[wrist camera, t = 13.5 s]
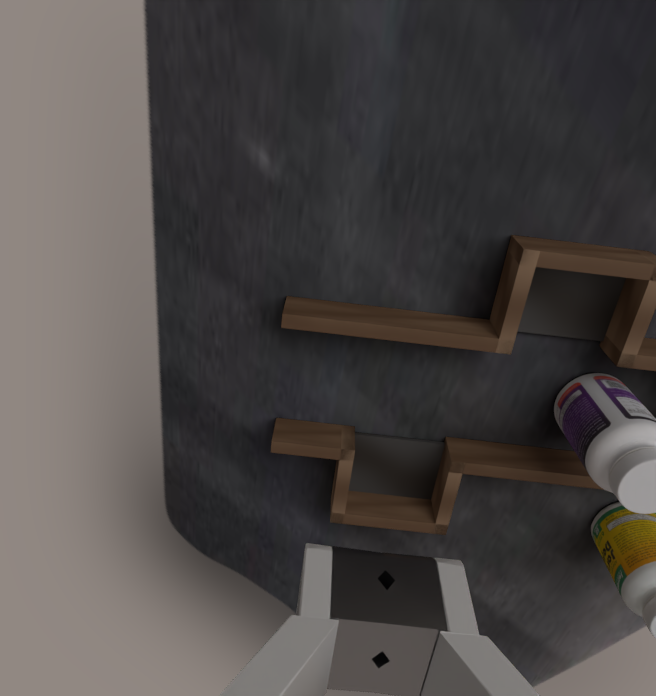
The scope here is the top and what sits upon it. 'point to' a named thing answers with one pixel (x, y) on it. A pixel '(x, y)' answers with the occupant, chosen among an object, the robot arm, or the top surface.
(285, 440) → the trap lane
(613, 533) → the supplement bottle
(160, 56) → the top surface
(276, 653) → the robot arm
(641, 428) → the pill bottle
